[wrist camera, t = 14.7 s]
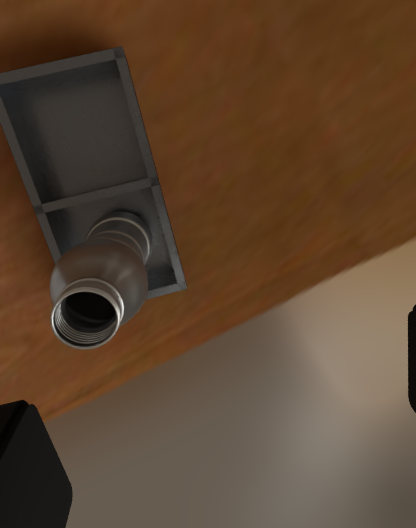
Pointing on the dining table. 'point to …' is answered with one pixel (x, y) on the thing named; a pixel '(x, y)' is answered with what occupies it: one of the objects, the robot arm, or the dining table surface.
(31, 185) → the divided tray
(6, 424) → the robot arm
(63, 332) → the grey stacked bottle
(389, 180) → the dining table surface
